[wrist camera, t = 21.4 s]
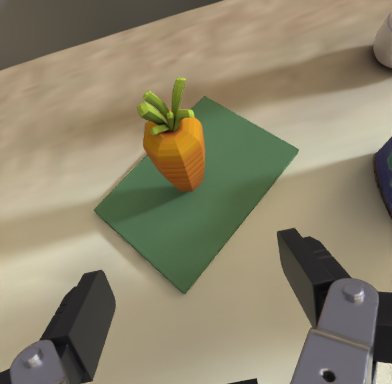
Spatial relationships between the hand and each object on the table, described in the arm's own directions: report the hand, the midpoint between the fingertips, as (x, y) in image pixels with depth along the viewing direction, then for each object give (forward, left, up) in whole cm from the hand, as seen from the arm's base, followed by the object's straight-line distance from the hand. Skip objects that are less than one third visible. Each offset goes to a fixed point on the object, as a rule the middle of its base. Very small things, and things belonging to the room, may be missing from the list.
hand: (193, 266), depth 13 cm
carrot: (+9, -7, -16) cm, 19 cm away
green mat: (+9, -8, -16) cm, 20 cm away
